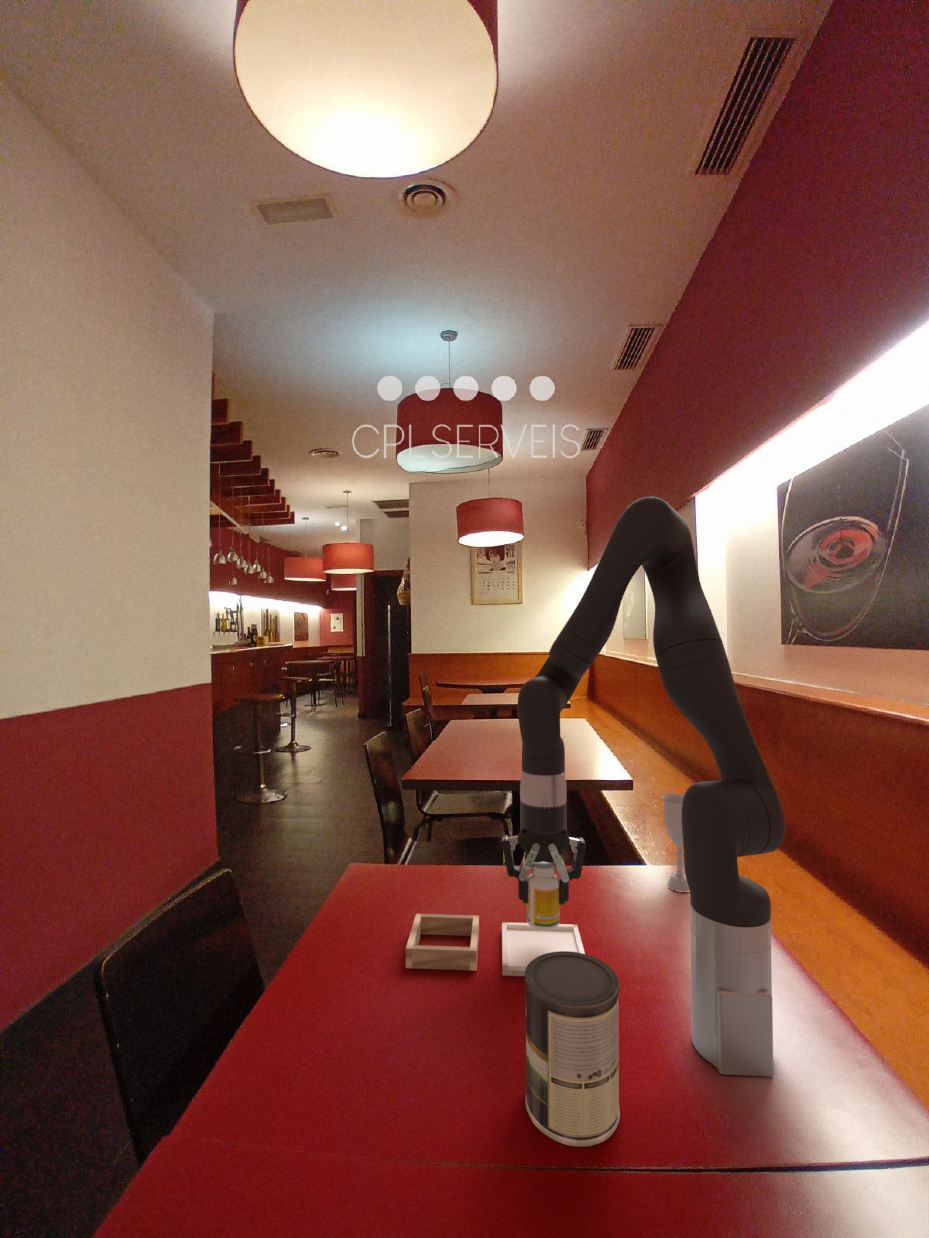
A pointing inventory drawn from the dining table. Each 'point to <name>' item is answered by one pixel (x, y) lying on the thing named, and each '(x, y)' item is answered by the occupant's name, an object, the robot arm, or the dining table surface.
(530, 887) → the supplement bottle
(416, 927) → the oak holder
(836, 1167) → the dining table surface
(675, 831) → the chalice
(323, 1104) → the dining table surface
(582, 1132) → the coffee can
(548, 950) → the ceramic tray
